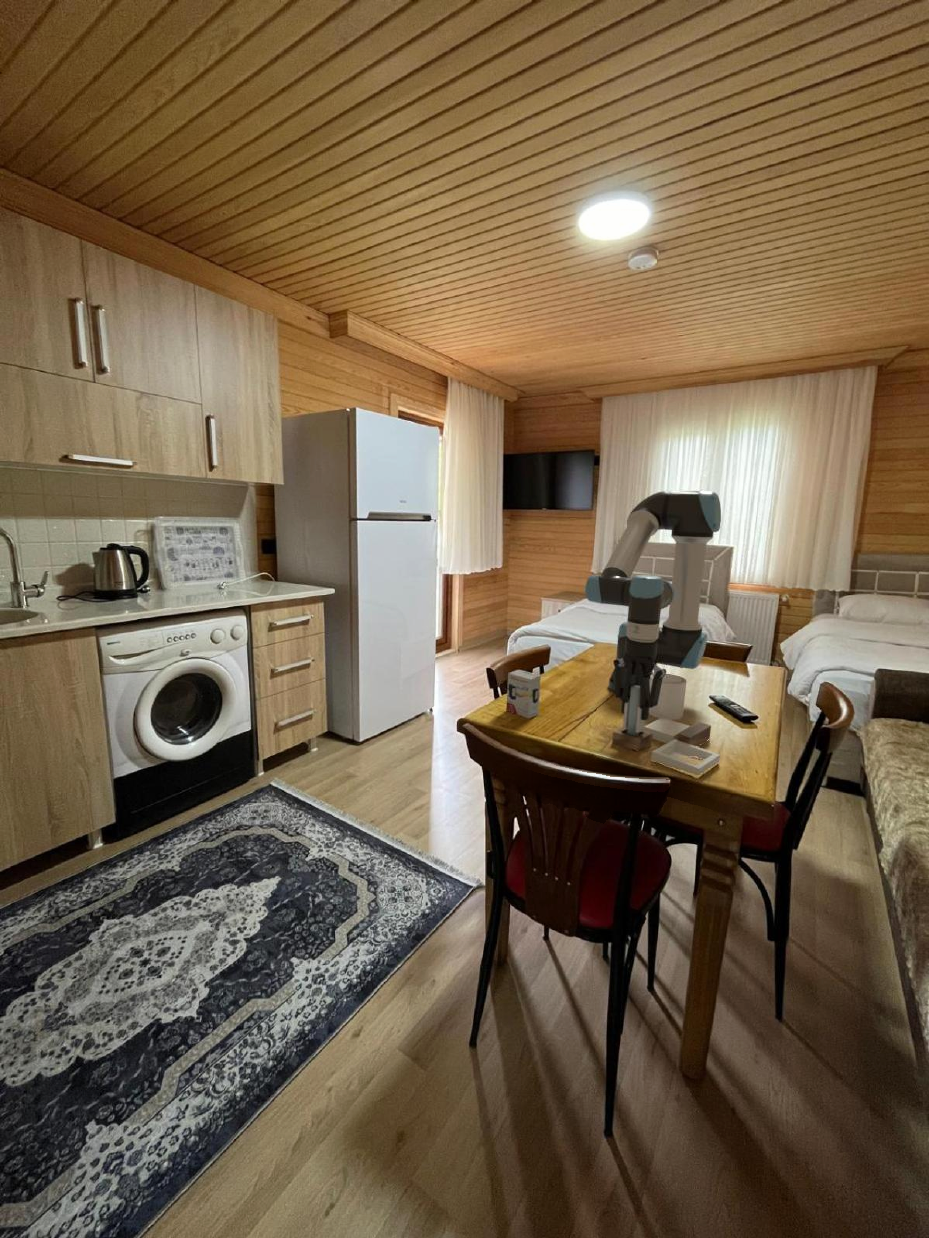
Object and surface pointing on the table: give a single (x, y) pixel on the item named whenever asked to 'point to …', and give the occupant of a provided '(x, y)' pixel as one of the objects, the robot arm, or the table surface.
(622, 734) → the socket block
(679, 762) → the tray
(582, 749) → the table surface
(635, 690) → the dowel
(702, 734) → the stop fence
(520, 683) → the ink box
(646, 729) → the white flat block
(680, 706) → the mug
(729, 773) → the table surface
